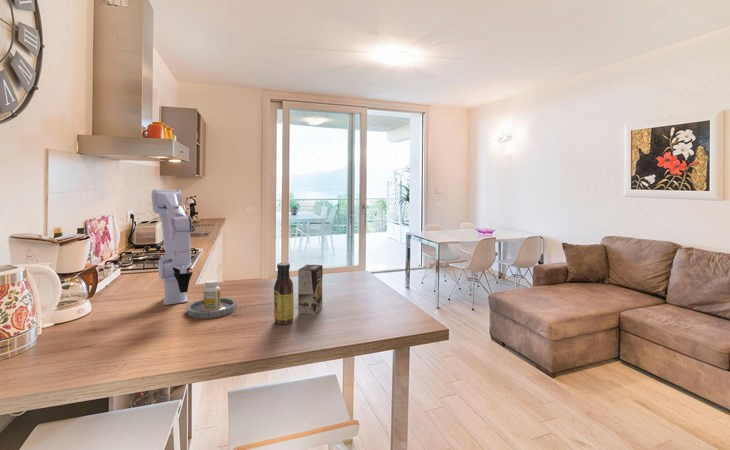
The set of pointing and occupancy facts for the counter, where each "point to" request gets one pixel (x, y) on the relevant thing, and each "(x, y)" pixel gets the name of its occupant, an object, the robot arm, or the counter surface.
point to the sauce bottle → (283, 295)
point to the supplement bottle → (211, 295)
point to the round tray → (199, 311)
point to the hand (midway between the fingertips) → (183, 289)
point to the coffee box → (310, 289)
